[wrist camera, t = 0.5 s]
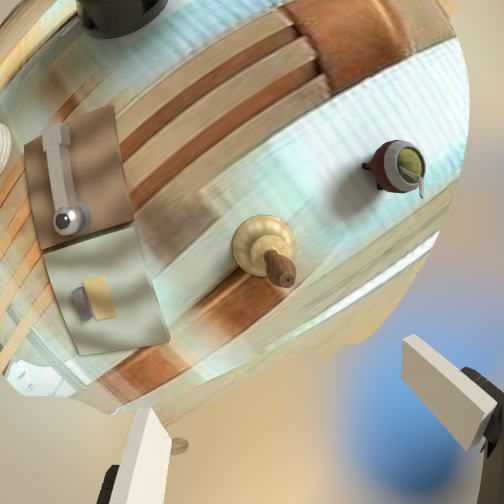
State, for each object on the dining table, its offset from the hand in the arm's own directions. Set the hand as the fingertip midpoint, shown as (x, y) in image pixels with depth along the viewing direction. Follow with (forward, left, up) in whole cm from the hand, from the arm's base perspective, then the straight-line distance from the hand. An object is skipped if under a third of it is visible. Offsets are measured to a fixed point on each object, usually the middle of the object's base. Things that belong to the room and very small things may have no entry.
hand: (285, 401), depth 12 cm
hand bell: (-2, +3, -27) cm, 27 cm away
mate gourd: (-9, +22, -27) cm, 36 cm away
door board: (-9, -21, -27) cm, 35 cm away
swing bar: (-18, -21, -24) cm, 37 cm away
